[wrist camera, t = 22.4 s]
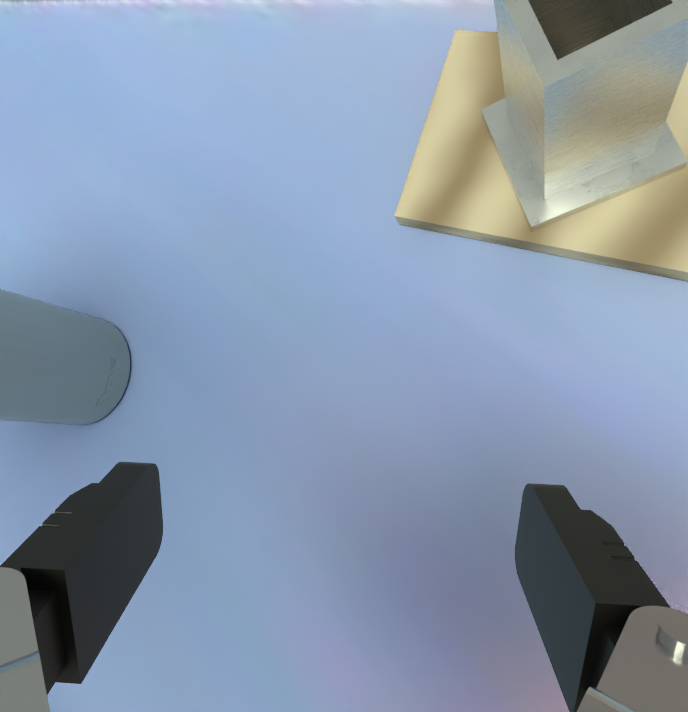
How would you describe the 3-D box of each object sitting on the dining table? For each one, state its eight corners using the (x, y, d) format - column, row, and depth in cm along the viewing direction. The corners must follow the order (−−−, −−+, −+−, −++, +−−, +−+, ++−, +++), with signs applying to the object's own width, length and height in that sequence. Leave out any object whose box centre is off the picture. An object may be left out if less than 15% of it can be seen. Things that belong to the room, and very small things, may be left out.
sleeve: (531, 231, 34) (525, 126, 23) (482, 116, 36) (454, -30, 25) (684, 168, 32) (760, 15, 20) (620, 49, 34) (657, -146, 23)
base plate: (399, 224, 39) (377, 190, 34) (458, 44, 40) (446, -15, 34) (718, 287, 31) (752, 255, 26) (785, 64, 32) (830, -9, 27)
